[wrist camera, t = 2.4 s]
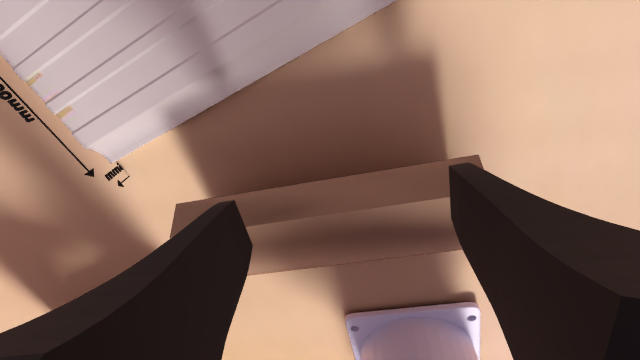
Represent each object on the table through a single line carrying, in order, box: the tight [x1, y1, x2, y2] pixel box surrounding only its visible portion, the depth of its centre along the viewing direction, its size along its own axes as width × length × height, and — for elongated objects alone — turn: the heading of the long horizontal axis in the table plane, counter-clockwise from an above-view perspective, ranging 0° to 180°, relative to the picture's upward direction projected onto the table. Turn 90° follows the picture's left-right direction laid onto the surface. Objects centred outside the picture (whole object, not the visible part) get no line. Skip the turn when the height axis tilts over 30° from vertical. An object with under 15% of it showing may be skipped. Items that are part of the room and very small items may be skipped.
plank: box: [170, 155, 483, 276], centre depth 15 cm, size 6×12×2 cm
